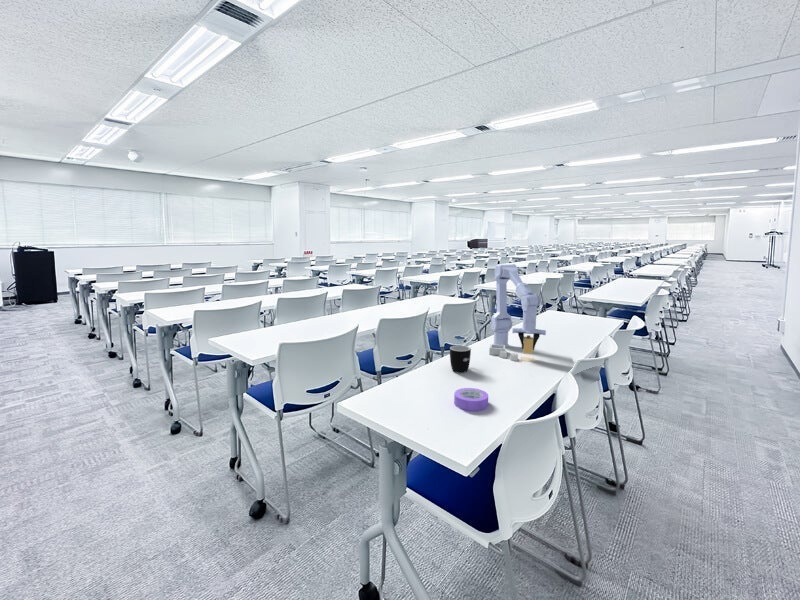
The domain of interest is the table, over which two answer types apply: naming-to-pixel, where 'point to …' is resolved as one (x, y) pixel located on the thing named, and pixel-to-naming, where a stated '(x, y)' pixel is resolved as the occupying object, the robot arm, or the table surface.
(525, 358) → the cable board
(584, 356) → the table surface
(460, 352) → the mug
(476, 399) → the masking tape
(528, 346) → the connector plug
